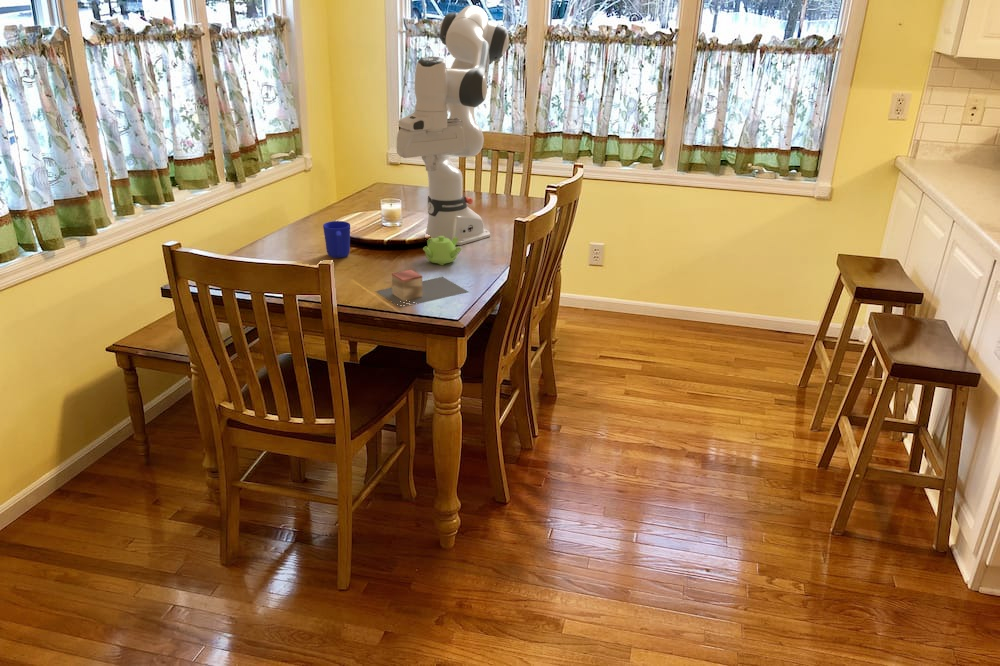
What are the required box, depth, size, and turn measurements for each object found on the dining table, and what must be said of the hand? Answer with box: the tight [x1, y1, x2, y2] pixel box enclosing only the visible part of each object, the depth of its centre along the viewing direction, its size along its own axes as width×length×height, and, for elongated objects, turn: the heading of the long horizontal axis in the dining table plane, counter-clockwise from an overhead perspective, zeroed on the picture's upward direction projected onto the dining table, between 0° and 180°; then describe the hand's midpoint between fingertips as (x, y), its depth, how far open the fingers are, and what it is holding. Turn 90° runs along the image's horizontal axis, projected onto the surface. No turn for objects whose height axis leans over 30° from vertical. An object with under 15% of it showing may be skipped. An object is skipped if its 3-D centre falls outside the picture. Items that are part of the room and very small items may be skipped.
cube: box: [391, 269, 423, 301], centre depth 220 cm, size 6×6×6 cm
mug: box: [322, 220, 351, 259], centre depth 247 cm, size 8×12×10 cm
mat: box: [375, 276, 469, 309], centre depth 224 cm, size 22×14×1 cm, turn 125°
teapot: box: [422, 236, 462, 266], centre depth 246 cm, size 11×12×8 cm
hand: (431, 170), depth 225 cm, fingers closed
